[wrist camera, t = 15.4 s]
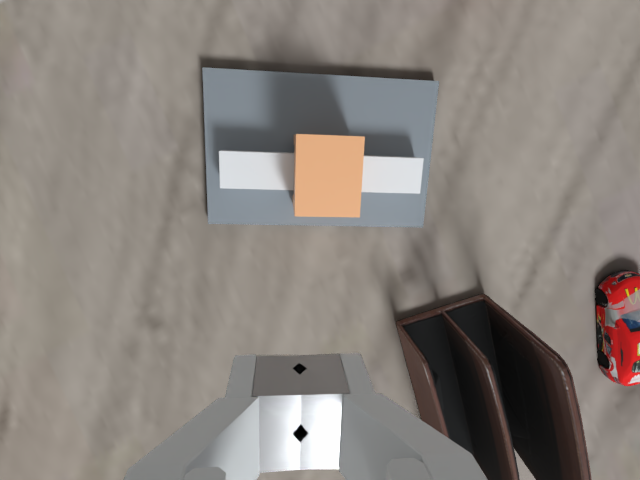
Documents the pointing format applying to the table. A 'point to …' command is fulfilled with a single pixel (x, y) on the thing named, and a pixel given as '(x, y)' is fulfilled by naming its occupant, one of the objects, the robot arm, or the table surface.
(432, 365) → the letter holder
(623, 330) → the race car
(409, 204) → the rail board
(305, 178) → the block
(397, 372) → the table surface
